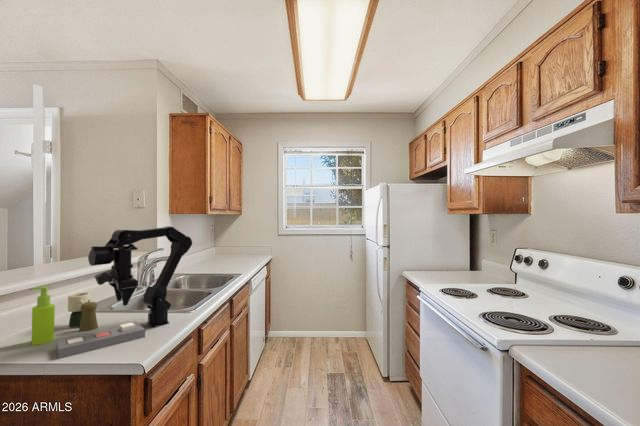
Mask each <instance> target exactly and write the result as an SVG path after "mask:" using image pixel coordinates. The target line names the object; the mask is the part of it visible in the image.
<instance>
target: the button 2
mask: <svg viewBox="0 0 640 426" xmlns="http://www.w3.org/2000/svg"><path fill="white" fill-rule="evenodd" d="M134 323H135V322H134ZM134 323H133V322H127V323H122V324H120V325H119V327H120V331H121V332H125V331H129V330H134V329H135V324H134Z"/></svg>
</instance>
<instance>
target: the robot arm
mask: <svg viewBox="0 0 640 426" xmlns="http://www.w3.org/2000/svg"><path fill="white" fill-rule="evenodd" d="M161 237H166V238H167V240H168V241H169V242H170V243H171V245H170V254H169V256H168V258H167V260H166V262H165V264H164V265H163V267H162V270H161V272H160V274H159V275H158V277H157V279H156V281H155V283H154V285H152V286H149V285H148V286H147V287H146V290H145V292H144V293H143V294H142V296H143V299H142V301H143V304H144V305H145V306H146V307H147V309H148V310H149V311H148V312H149V313H147V325H149V326H150V327H152V328H154V327H158V326H162V325H167V324H169V323H170V321H168V319H169V317H168V310H170V308H171V305H172V304H171V302H169V301H168V300H166V299H167V294H168V289H167V288H168V286H169V284H170V282H171V280H172V277H173V275H174V273H175V271H176V270H177V267H178V265H179V262H181V259H182V257H183V256H184V255H185V254H187V252H188V251H189V250H190V248H191V247H192V245H193V241H192V239H191V237H190V236H188V235H186V234H184V233H182V232H180V231H179V230H177V228H175V227H173V226H164V227H156V228H155V227H154V228H147V229H139V230H136V229H117V230H114V232H113V233H112V235H111V238H110V239H108V241H107V243H106V244H105V245H103V246H102V245H101V246H98V245H97V246H95V245H94V246H91V248H90V249H91V250H90V251H89V253H88V255H87V256H88V257H87V258H88V260H87V261H88V264H89V265H90V266H101V265H109V264H111V263H112V262H113V264H112V266H111V269H108V270H106V271H103V272H100V273H98V274H96V275H94V279H95V281H96V282H97V285H99V286H101V285H104V284H105V283H108V285H110V286H111V287H113V289H114V290H113V291H114V294H115V297H116V300H117V302H121V301H122V305H123V306H124V307H125V306H127V305H128V304H129V302H130V300H131V297H132V296H133V294H134V292H135V291H136V289H137V288H138V287H139V280H137V278H134V277H133V274H132V269H133V268H134V267H133V266H134V265H133V263H132V251H137V250H138V247H136V246H135V244H134V243H137V242H139V241H142V240H147V239H149V240H150V239H155V238H161Z"/></svg>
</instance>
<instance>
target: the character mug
mask: <svg viewBox="0 0 640 426" xmlns="http://www.w3.org/2000/svg"><path fill="white" fill-rule="evenodd" d="M86 302H91V294H90V292H77V293H72V294H69V295H68V298H67V311H68V312H69V313H71V314H70V316H69V322H68V327H70V328H73V327H79V328H80V323H81V317H82V311H81V305H82V304H84V303H86Z"/></svg>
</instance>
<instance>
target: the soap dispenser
mask: <svg viewBox="0 0 640 426" xmlns="http://www.w3.org/2000/svg"><path fill="white" fill-rule="evenodd" d="M50 289H51V286H37V287H33V288H29V290H30V291H34V290H40V295H39V296H37V297H36V298H37V299H36V300H37V301H36V303H37V305H35V306H33V307H32V308H31V346H39V345H40V346H41V345H46V344H49V343H51V342H53V341H54V340H55V307H56V305H55V304H53V303H51V295H49V294H48V290H50Z"/></svg>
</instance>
